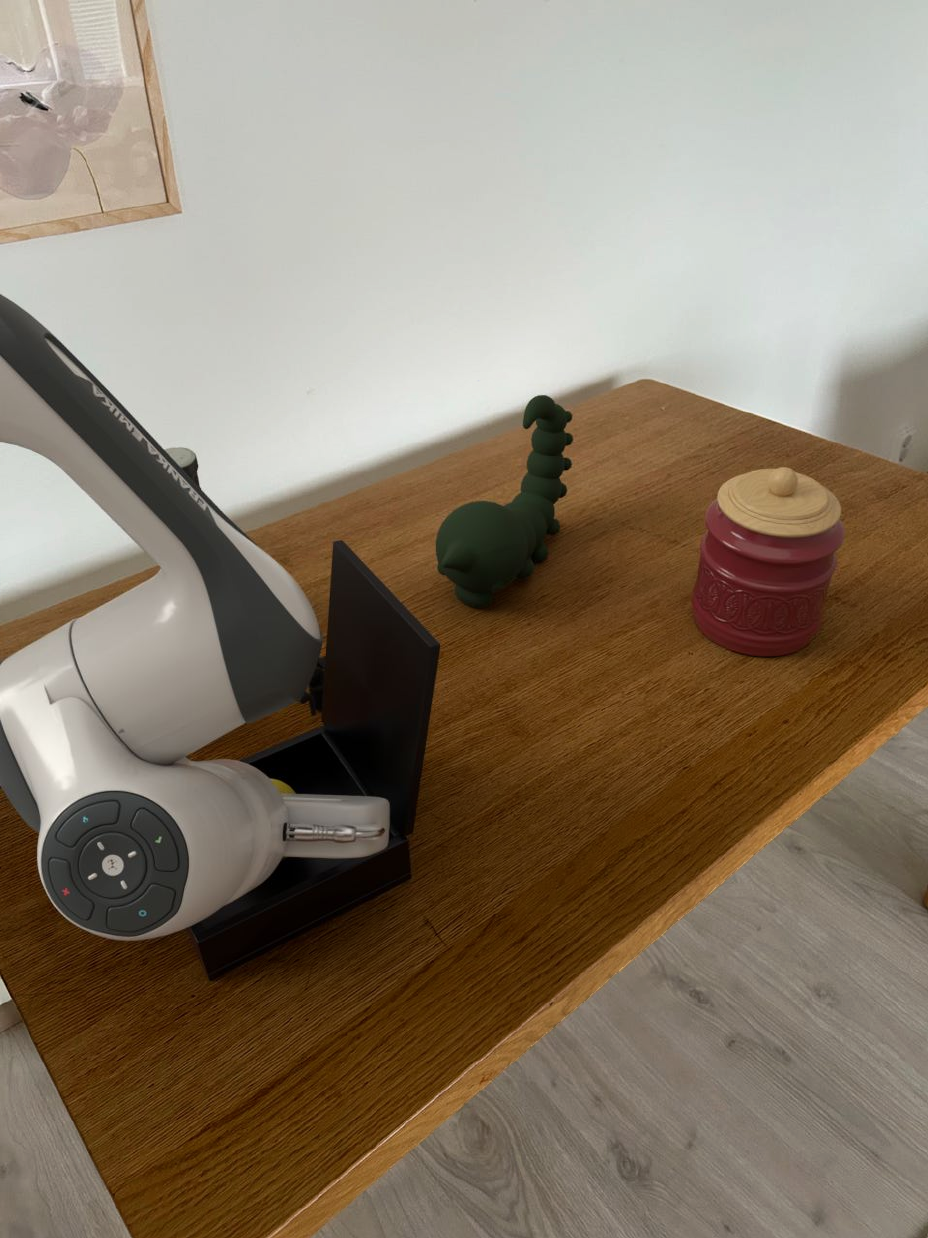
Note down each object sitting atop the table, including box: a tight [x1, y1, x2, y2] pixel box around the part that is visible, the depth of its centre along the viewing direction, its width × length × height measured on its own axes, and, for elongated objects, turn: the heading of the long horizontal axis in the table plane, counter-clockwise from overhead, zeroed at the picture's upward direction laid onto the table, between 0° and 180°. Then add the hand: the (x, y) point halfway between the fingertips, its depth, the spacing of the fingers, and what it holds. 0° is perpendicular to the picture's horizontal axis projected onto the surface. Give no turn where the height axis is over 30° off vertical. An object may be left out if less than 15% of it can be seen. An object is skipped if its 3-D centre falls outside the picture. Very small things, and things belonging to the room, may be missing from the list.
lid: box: [320, 539, 442, 837], centre depth 74 cm, size 18×15×1 cm
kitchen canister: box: [691, 466, 846, 657], centre depth 96 cm, size 13×13×18 cm
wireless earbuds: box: [298, 655, 325, 717], centre depth 91 cm, size 7×2×5 cm, turn 149°
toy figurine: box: [435, 394, 574, 609], centre depth 103 cm, size 9×19×25 cm
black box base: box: [184, 724, 412, 982], centre depth 77 cm, size 17×15×5 cm
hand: (268, 811), depth 76 cm, fingers closed on lemon, 5 cm apart
